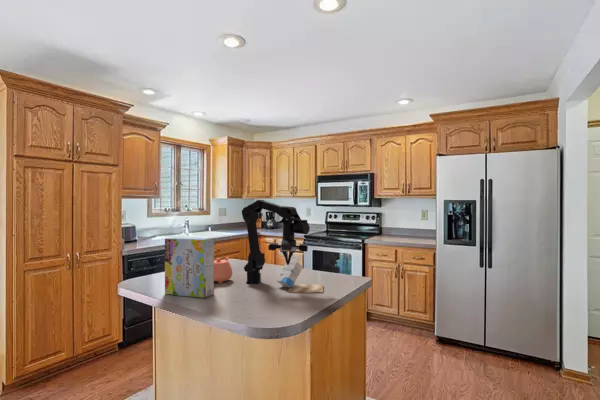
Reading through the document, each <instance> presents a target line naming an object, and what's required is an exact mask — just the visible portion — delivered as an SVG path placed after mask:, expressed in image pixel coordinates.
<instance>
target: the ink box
mask: <svg viewBox="0 0 600 400" xmlns="http://www.w3.org/2000/svg"><path fill="white" fill-rule="evenodd" d="M300 259H301V257H300V256H297V255H296V256H295V255H294V256H293V255H292V257H291V260H290V263H289V265H287V263H286V262H285V265H284V267H283V269H282V270H281V272H280V273H279V276H278V277H277V278H276V282H277V283H278V284H280V285H281V286H283V287H287V288H290V287H291V288H292V287H293V285H294V284H296V281H297V279H298V277H299V276H300V273H302V270H303V268H304V267H303V266H304V265H301V264H300V263H299V260H300Z"/></svg>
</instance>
